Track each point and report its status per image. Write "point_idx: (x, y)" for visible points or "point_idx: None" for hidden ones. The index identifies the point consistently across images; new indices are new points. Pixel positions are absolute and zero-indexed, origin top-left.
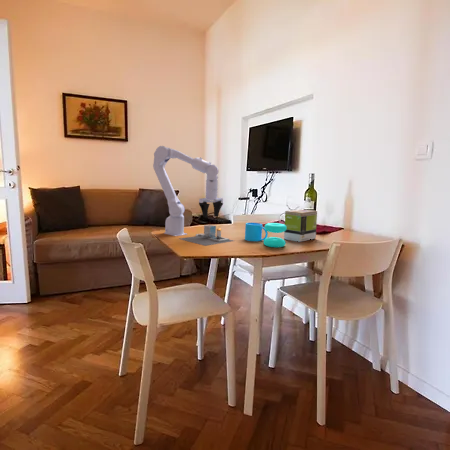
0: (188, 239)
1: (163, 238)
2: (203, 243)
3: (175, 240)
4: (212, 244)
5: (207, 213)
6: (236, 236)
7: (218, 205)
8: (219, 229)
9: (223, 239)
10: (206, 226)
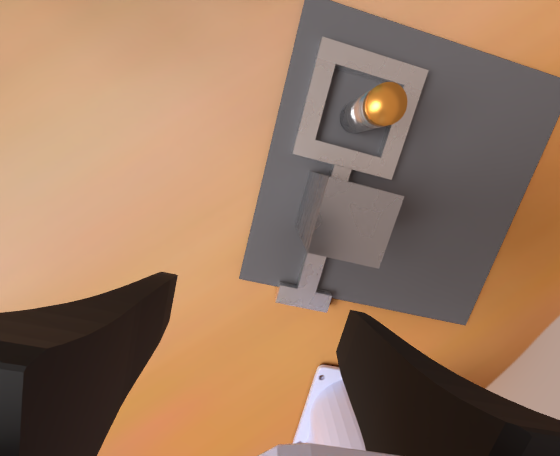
0: (454, 271)
1: (480, 385)
2: (516, 133)
3: (495, 314)
4: (517, 66)
5: (376, 330)
6: (113, 90)
7: (83, 372)
8: (401, 88)
9: (379, 58)
10: (386, 239)
